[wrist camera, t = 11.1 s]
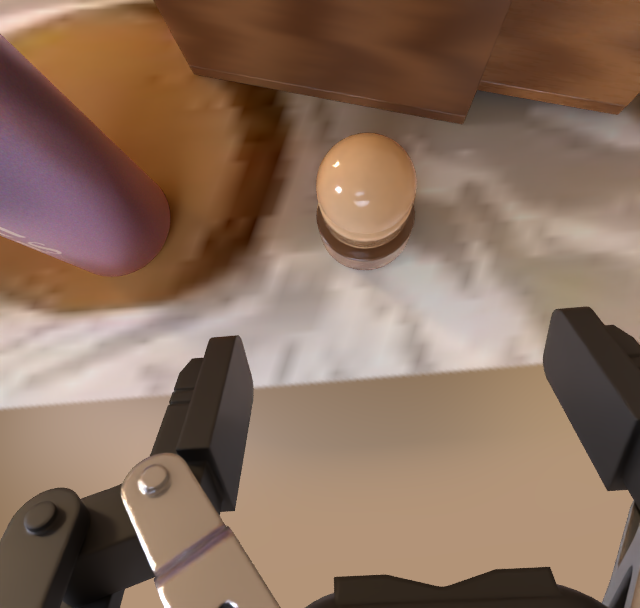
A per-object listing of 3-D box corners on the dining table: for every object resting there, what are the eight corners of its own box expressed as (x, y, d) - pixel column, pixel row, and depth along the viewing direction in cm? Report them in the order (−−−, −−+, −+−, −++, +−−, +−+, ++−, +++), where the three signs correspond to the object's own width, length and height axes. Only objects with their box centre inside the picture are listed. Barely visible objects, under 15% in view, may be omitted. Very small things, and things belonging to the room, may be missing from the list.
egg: (309, 259, 25) (288, 209, 18) (332, 175, 26) (320, 94, 18) (399, 279, 24) (415, 236, 17) (419, 193, 25) (443, 117, 18)
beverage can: (192, 196, 26) (-27, -43, 11) (147, 295, 25) (-149, 176, 11) (100, 162, 27) (-215, -103, 12) (54, 256, 26) (-341, 97, 12)
